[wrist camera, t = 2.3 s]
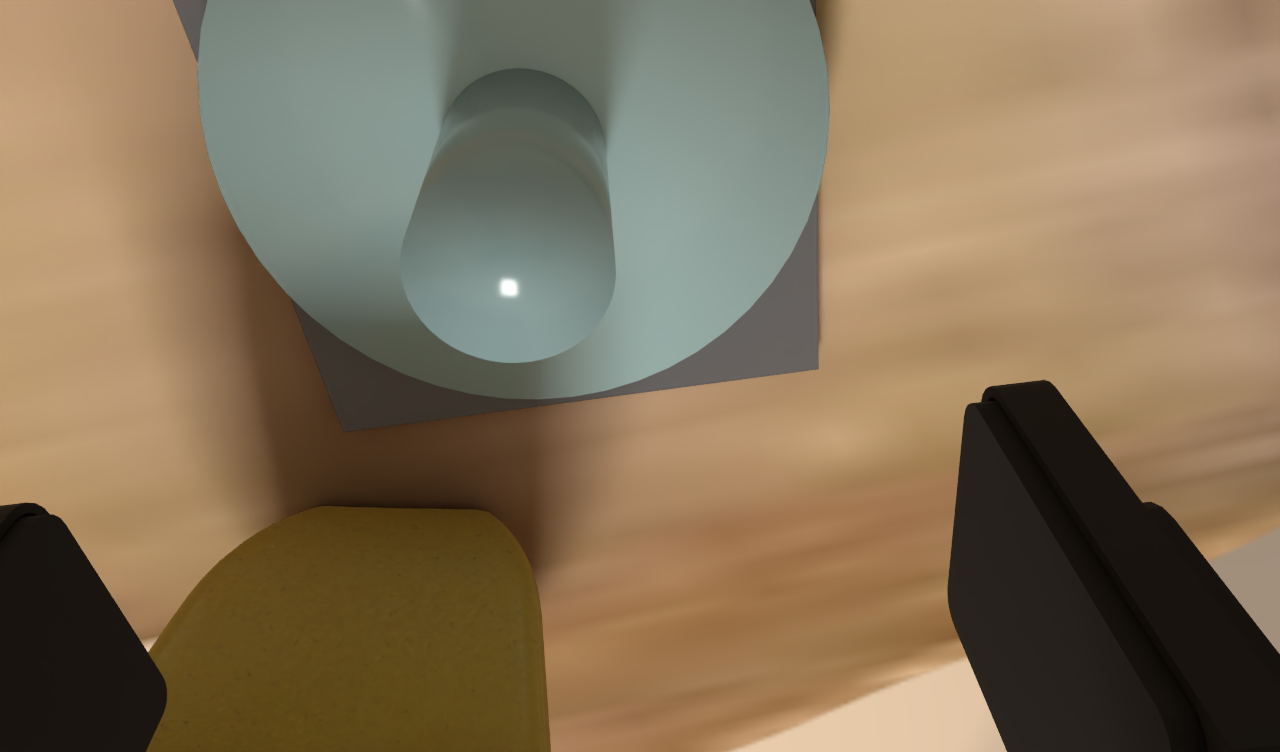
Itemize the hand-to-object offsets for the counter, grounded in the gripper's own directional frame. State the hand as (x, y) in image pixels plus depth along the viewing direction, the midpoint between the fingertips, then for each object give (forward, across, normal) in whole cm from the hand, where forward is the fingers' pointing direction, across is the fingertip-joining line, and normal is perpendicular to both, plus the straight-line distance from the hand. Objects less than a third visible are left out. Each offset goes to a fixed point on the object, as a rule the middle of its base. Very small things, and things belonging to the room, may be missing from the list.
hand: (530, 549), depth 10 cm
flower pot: (+12, +7, +12) cm, 18 cm away
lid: (+11, +1, -1) cm, 11 cm away
